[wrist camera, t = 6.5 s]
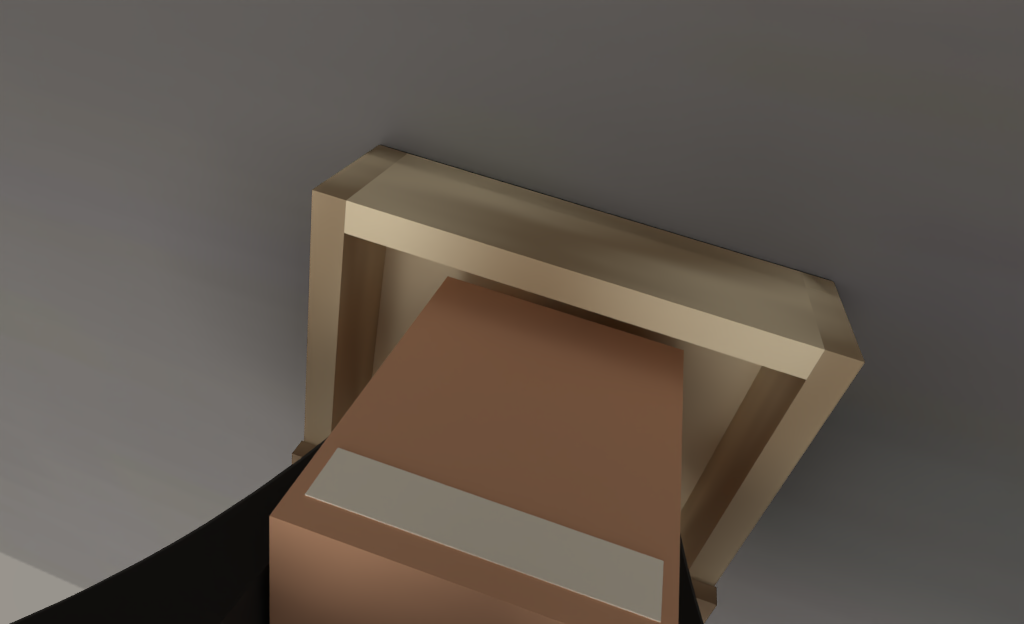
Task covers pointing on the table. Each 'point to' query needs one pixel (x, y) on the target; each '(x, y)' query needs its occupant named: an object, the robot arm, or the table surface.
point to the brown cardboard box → (493, 478)
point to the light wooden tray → (592, 296)
